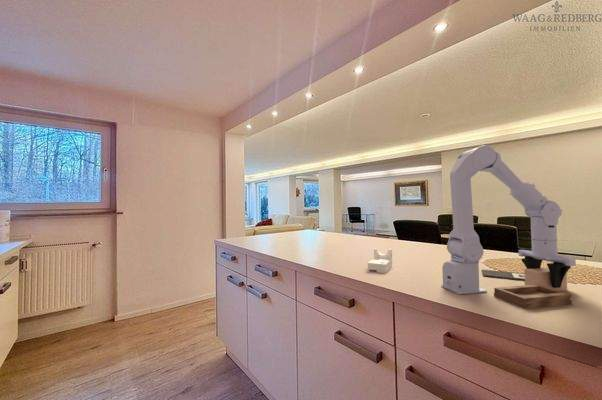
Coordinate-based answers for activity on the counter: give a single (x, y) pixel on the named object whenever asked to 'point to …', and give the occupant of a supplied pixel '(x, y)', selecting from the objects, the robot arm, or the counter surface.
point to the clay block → (542, 278)
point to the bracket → (381, 261)
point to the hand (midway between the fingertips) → (545, 284)
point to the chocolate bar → (504, 275)
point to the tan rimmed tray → (532, 296)
